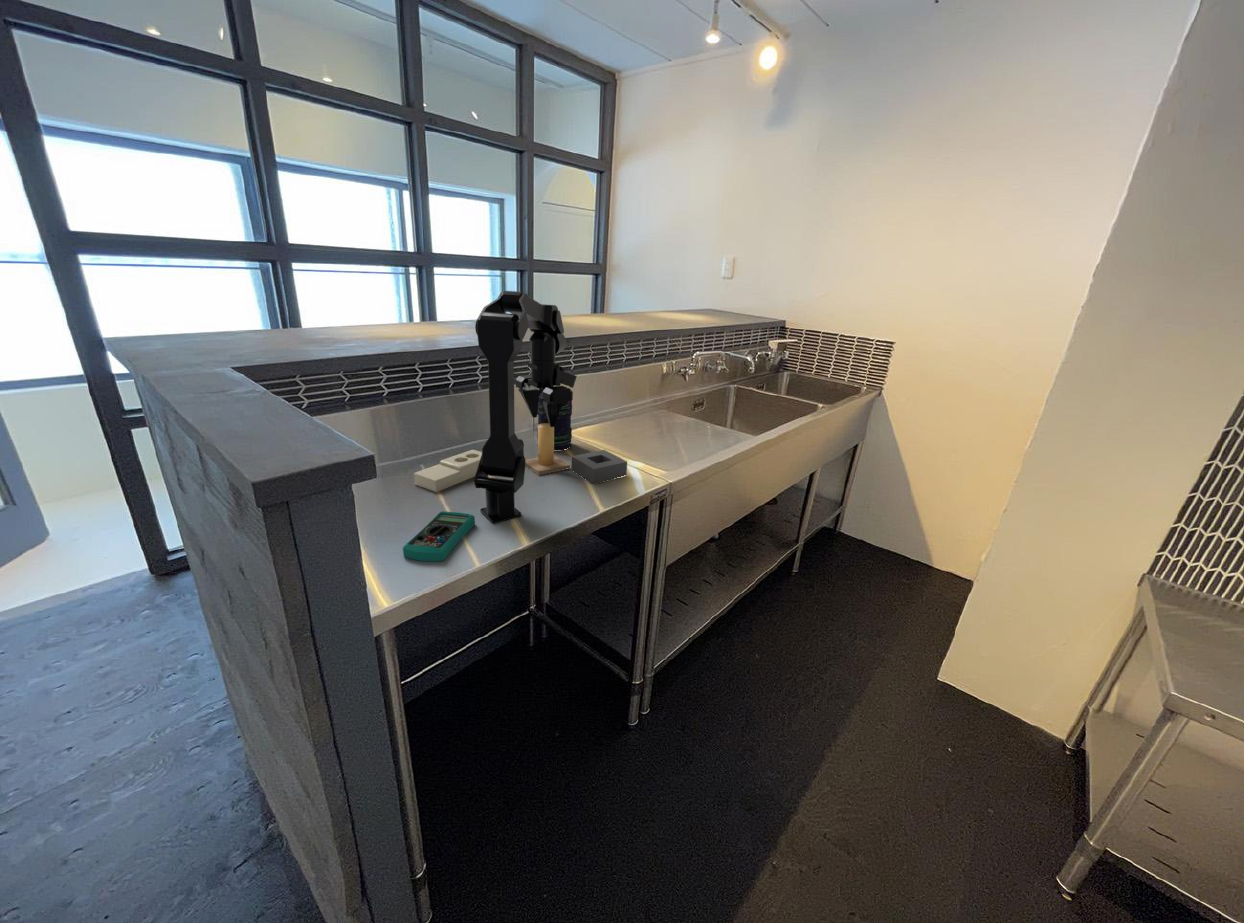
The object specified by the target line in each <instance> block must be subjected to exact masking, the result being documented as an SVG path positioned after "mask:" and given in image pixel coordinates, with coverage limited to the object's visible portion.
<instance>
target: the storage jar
mask: <svg viewBox="0 0 1244 923" xmlns="http://www.w3.org/2000/svg"><path fill="white" fill-rule="evenodd" d="M543 400H544V398H543V392H542V393H541V394H540V396H539V403H538V413H537V424H538V425H539V424H542V423H549V422H548V418H547V415H546V411H545V408H544V405H543ZM572 415H573V400H572V401H569V403H566V404H564V405H563V406H562V408H561V410H560V413H559V415H558V418H557V421H556V424H555V426H554V450H564V449H567V448H569V447H570V446H571V447H572V438H573V436H572V435H573V434H572V431H573V430H572V426H571V425H572V423H571V422H572ZM538 425H537V426H538ZM536 430H537V434H536V438H537V439H538V427H537V429H536Z"/></svg>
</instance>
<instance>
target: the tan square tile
mask: <svg viewBox="0 0 1244 923" xmlns="http://www.w3.org/2000/svg"><path fill="white" fill-rule="evenodd" d="M525 461H526V464H525V468H527V467H528V470H530V469H531V470H530V471H532V473H534V472H535V474H536V475H537V474H538V476H542V474H543V475H548V474H551V472H553V473H556V472H555V471H557V472H560V471H559V470H562V471H564V470H563V469H566V468H570V469H571V465H570V464H569V463H568V462H566V461H563V460H562V459H561V458H559V457H557V456H556V455H554V464H552V465H548V466H544V465H540V464H538V456H537V457H533V458H528V459H525ZM547 473H548V474H547Z"/></svg>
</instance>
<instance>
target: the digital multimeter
mask: <svg viewBox="0 0 1244 923" xmlns="http://www.w3.org/2000/svg"><path fill="white" fill-rule="evenodd" d="M475 525H476V518H475V515H473V514H471V513H464V512H457V511H456V512H455V511H444V510H443V511H440V512H439V513H437V514H436V515H435V516H434V518H433V519H432V520H430V522H428V523H427V525H425V526H424V527H423V528H422V529H421V530H420V531H418V533H417V534H415V535H414V536H413V537H412V538H410V540H409V541H408V542H407V543H406V544H404V545H403V547H402V552H403V557H404V558H406V557H407V558H406V559H411V560H416V561H420V562H421V561H422V562H443V561H444V560H445V559H446V558H447V556H448V555H449V554H450V553H451V551H452V550H453V549H454V548H455V547H456V545H457V544H459V542H460V541H461V540H462V539H463V537H464V536H465V535H467V533H468V532H469V531H470V530H471V529H472V528H473V527H474V526H475Z"/></svg>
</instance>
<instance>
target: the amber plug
mask: <svg viewBox="0 0 1244 923" xmlns="http://www.w3.org/2000/svg"><path fill="white" fill-rule="evenodd" d="M537 428H538V438H537V457H538V464H540V465H544V466H548V465H552V464H554V456H555V452H554V427H550V425H549V423H542V424H539V425H537Z"/></svg>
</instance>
